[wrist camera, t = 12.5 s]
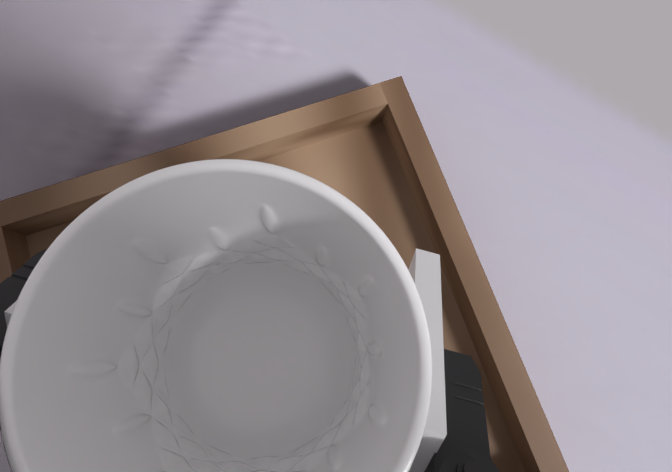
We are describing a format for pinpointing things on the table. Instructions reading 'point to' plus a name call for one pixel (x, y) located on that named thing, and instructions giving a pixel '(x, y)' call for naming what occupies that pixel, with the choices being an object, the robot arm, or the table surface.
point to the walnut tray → (371, 197)
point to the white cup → (217, 333)
